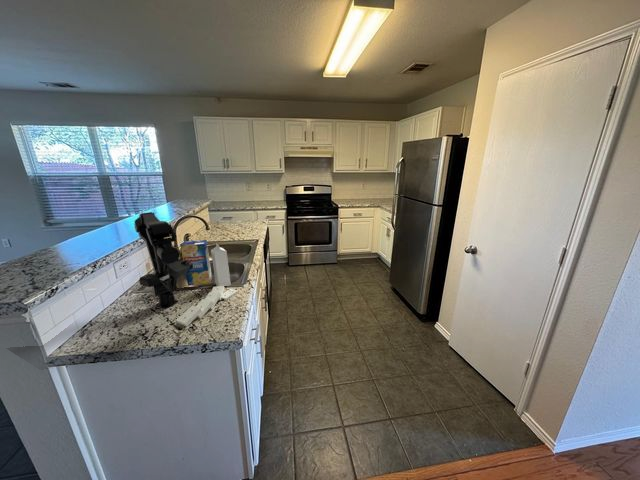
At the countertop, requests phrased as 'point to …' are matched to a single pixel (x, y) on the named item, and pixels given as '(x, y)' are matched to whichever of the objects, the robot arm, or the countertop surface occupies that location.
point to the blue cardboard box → (197, 262)
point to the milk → (220, 266)
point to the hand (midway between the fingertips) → (172, 292)
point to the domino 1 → (189, 316)
